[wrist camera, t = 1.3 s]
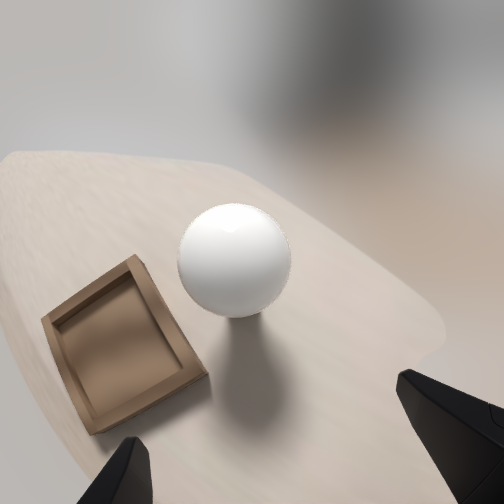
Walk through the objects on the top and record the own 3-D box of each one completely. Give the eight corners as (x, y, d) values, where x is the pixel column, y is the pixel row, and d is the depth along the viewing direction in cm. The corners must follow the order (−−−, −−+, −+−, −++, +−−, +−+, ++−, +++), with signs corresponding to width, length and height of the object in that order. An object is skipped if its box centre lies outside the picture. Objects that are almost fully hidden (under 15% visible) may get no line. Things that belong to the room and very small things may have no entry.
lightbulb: (295, 282, 25) (317, 208, 15) (259, 352, 22) (257, 325, 12) (227, 250, 26) (207, 165, 16) (189, 314, 24) (138, 260, 14)
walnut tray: (208, 373, 22) (203, 372, 20) (102, 432, 19) (89, 435, 17) (144, 264, 26) (135, 253, 24) (54, 324, 23) (40, 319, 21)
